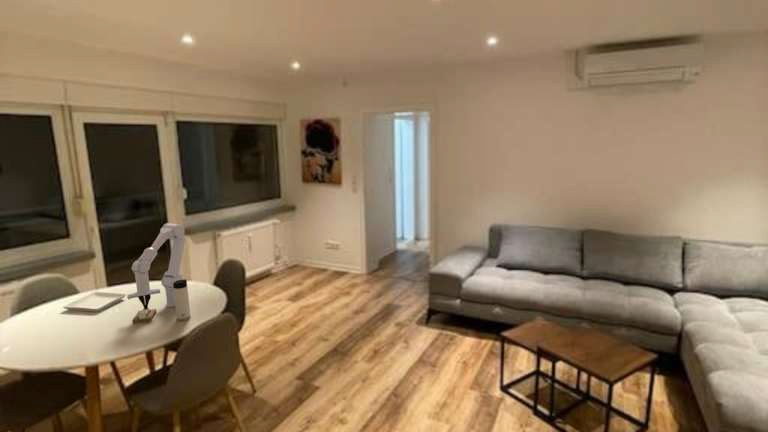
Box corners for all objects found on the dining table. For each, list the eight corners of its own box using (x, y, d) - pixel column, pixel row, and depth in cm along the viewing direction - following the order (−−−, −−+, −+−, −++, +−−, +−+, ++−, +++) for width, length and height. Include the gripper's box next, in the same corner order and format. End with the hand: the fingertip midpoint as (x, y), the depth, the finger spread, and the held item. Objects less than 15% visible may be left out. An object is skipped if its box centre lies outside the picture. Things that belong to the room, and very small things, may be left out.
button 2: (150, 313, 221) (149, 307, 221) (149, 315, 219) (148, 309, 218) (144, 313, 221) (143, 308, 220) (142, 316, 218) (141, 310, 217)
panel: (156, 312, 223) (155, 309, 223) (150, 322, 212) (150, 318, 211) (139, 314, 221) (138, 310, 220) (132, 324, 209) (132, 320, 209)
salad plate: (98, 314, 222) (97, 308, 222) (62, 312, 226) (61, 306, 225) (128, 299, 243) (127, 293, 242) (95, 297, 246) (94, 291, 246)
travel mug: (185, 321, 212) (181, 282, 208) (174, 320, 213) (169, 281, 210) (193, 316, 218) (189, 278, 214) (182, 315, 219) (178, 277, 216)
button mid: (148, 314, 218) (147, 308, 217) (147, 316, 215) (146, 311, 214) (142, 315, 217) (141, 309, 216) (140, 317, 214) (139, 312, 214)
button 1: (147, 319, 214) (146, 313, 214) (145, 321, 211) (144, 315, 211) (140, 319, 213) (139, 314, 213) (138, 322, 211) (138, 316, 210)
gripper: (157, 278, 224) (160, 303, 226) (125, 284, 216) (128, 310, 218) (159, 282, 218) (162, 307, 221) (126, 288, 210) (130, 314, 213)
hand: (145, 309), depth 219 cm, fingers closed, pressing on button 2
